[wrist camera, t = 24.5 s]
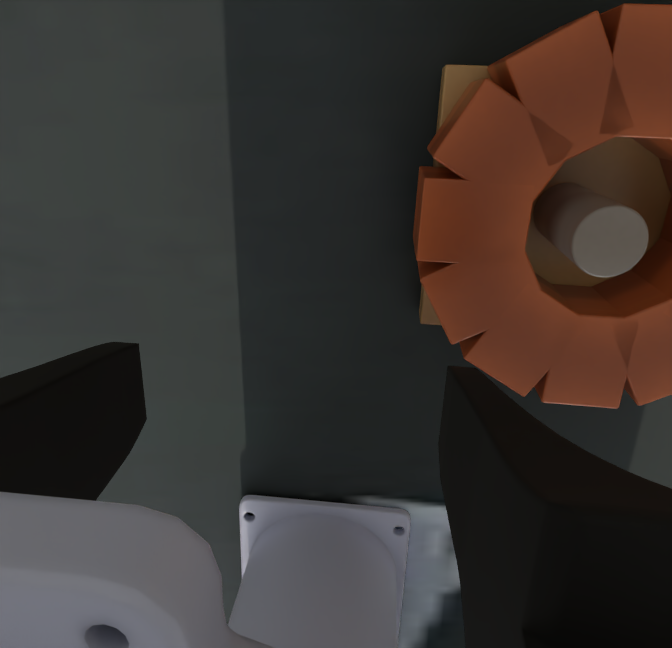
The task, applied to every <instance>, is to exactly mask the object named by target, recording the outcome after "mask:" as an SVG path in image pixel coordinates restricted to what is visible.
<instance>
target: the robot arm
mask: <svg viewBox="0 0 672 648" xmlns="http://www.w3.org/2000/svg"><path fill="white" fill-rule="evenodd" d="M146 420H147V417H146V408H145V398H144V389H143V380H142V370H141V361H140V352H139V344H137V343H123V342H110V343H105V344H101V345H97V346H94V347H91V348H88V349H85V350H82V351H79V352H76V353H73V354H70V355H67V356H64V357H62V358H59V359H56V360H53V361H50V362H47V363H45V364H42V365H39V366H36V367H33V368H30V369H27V370H24V371H21V372H18V373H15V374H12V375H9V376H5V377H2V378H0V648H398V638H399V629H400V619H401V610H402V600H403V591H404V581H405V572H406V563H407V553H408V544H409V534H410V525H411V518H410V514H409V513H408V511H406V510H404V509H400V508H390V507H379V506H368V505H357V504H346V503H335V502H324V501H313V500H302V499H291V498H281V497H270V496H259V495H246V496H244V497H243V498H242V499H241V501H240V505H239V518H240V544H241V570H242V581H241V584H240V588H239V591H238V594H237V597H236V600H235V603H234V607H233V610H232V613H231V616H230V619H229V622H228V625H227V622H226V618H225V613H224V609H223V591H222V575H221V573H220V570H219V568H218V565H217V562H216V560H215V557H214V555H213V552H212V550H211V547H210V544H209V543H208V542H207V541H205V540H204V539H203V538H202V537H201V536H200V535H198V534H197V533H196V532H195V531H194V530H192V529H191V528H190V527H189V526H188V525H187V524H185V523H184V522H183V521H182V520H181V519H180V518H178V517H176V516H173V515H169V514H166V513H163V512H160V511H157V510H153V509H150V508H147V507H144V506H140V505H134V504H124V503H113V502H103V501H96V499H97V498H98V496H99V495H100V494H101V492H102V491H103V490H104V488H105V487H106V485H107V484H108V483H109V481H110V480H111V479H112V477H113V476H114V474H115V473H116V472H117V470H118V469H119V467H120V466H121V465H122V463H123V462H124V460H125V459H126V457H127V456H128V455H129V453H130V451H131V449H132V448H133V446H134V444H135V442H136V440H137V438H138V436H139V434H140V432H141V430H142V428H143V426H144V424H145V422H146ZM438 444H439V463H440V478H441V484H442V490H443V495H444V500H445V505H446V510H447V515H448V520H449V525H450V530H451V535H452V540H453V545H454V549H455V554H456V559H457V565H458V571H459V578H460V585H461V597H462V608H463V619H464V631H465V643H466V648H672V489H671V488H668V487H665V486H663V485H660V484H657V483H655V482H652V481H649V480H647V479H644V478H642V477H640V476H637V475H635V474H633V473H630V472H628V471H626V470H623V469H621V468H619V467H617V466H615V465H613V464H611V463H609V462H607V461H605V460H603V459H601V458H598V457H597V456H595V455H593V454H591V453H589V452H587V451H585V450H583V449H582V448H580V447H578V446H577V445H575V444H573V443H572V442H570V441H568V440H567V439H565V438H563V437H562V436H560V435H559V434H557V433H556V432H554V431H552V430H551V429H550V428H548V427H547V426H545V425H544V424H543V423H541V422H540V421H539V420H537V419H536V418H534V417H533V416H532V415H530V414H529V413H528V412H527V411H525V410H524V409H523V408H522V407H520V406H519V405H518V404H517V403H515V402H514V401H513V400H512V399H511V398H510V397H508V396H507V395H506V394H505V393H504V392H503V391H502V390H500V389H499V388H498V387H497V386H496V385H495V384H494V383H493V382H492V381H490V380H489V379H488V378H487V377H486V376H485V375H484V374H483V373H481V372H480V371H479V370H478V369H476V368H470V367H457V366H448V369H447V377H446V385H445V393H444V402H443V410H442V418H441V427H440V435H439V443H438ZM248 512H250V513H253V514H254V515H253V516H251V515H249V514H247V513H248ZM399 526H400V527H402V529H399V530H398V529H395V527H399Z"/></svg>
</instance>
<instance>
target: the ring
mask: <svg viewBox="0 0 672 648" xmlns="http://www.w3.org/2000/svg"><path fill="white" fill-rule="evenodd" d="M487 69H488V72H489V74H490V77H491V79H492V80H490V79H489V78H484V79H481V80H477V81H473V82H471V83H470V84H469V85H468V87H467V88H466V90H465V91H464V93H463V94H462V96H461V97H460V99H459V100H458V102H457V103H456V105H455V106H454V108H453V109H452V110H451V112H450V113H449V115H448V116H447V118H446V119H445V121H444V122H443V124H442V125H441V127H440V128H439V130H438V131H437V133H436V134H435V136H434V137H433V139H432V140H431V142H430V143H429V145H428V146H427V150H428V151H429V153H430V154H431V155H432V157H433V158H434V159H435V160H436V161H438V162H439V163H441V164H442V165H444V166H445V167H430V166H420V167H419V176H418V186H417V197H416V208H415V218H414V229H413V241H414V248H415V255H416V260H417V263H418V270H419V277H420V282H421V284H422V286H423V288H424V290H425V292H426V294H427V296H428V298H429V300H430V302H431V304H432V306H433V308H434V310H435V313H436V315H437V317H438V319H439V321H440V323H441V325H442V327H443V329H444V331H445V333H446V335H447V337H448V339H449V341H450V343H451V344H456V343H458V342H459V343H460V347H461V350H462V354H463V358H464V359H465V360H467V361H468V362H470V363H471V364H473V365H474V366H476V367H478V368H479V369H481V370H482V371H484V372H485V373H487V374H489V375H490V376H492V377H493V378H495V379H496V380H498V381H499V382H501V383H503V384H504V385H506V386H507V387H509V388H510V389H512V390H514V391H515V392H517V393H518V394H520V395H521V396H523V397H525V396H526V395H527V394H528V393H529V392H530V390H531V389H532V388H533V387H535V389H536V391H537V393H538V395H539V397H540V399H541V401H542V402H544V403H554V404H566V405H578V406H590V407H602V408H614V409H617V408H618V407H619V404H620V401H621V397H622V393H623V389H625V390H626V392H627V393H628V394H629V395H630V397H631V398H632V399H633V400H634V402H635V403H636V404H637V405H638V406H641V405H643V404H646V403H649V402H652V401H655V400H658V399H660V398H663V397H666V396H669V395H672V5H665V4H632V3H624V4H622V5H620V6H617V7H615V8H613V9H610V10H608V11H606V12H603V13H601V14H599V12H598V11H594V12H591V13H589V14H587V15H585V16H583V17H580V18H578V19H576V20H574V21H572V22H569V23H567V24H565V25H563V26H561V27H559V28H557V29H555V30H553V31H551V32H550V33H548V34H546V35H544V36H542V37H540V38H539V39H537V40H535V41H533V42H531V43H529V44H528V45H526V46H524V47H522V48H520V49H518V50H516V51H515V52H513V53H511V54H509V55H507V56H505V57H504V58H502V59H500V60H498V61H496V62H494V63H492V64H491V65H489V66H488V67H487ZM615 137H629V138H632V139H634V140H635V141H636V142H638V143H639V144H641V145H642V146H643V147H645V148H646V149H647V150H649V151H650V152H651V153H653V154H654V155H656V156H657V157H658V158H659V160H660V163H661V166H662V169H663V172H664V175H665V178H666V182H667V185H668V188H669V191H670V194H671V198H670V202H669V205H668V209H667V213H666V217H665V221H664V224H663V228H662V232H661V236H660V238H659V240H658V241H657V242H656V243H655V244H654V245H653V246H652V247H651V248H650V250H649V251H648V252H647V253H646V254H645V255H644V256H643V257H642V258H641V260H640V261H639V262H638V263H637V264H636V265H635V266H634V267H633V268H632V269H631V270H630V271H628V272H625V273H623V274H620V275H618V276H616V277H613V278H611V279H608V280H606V281H604V282H601V283H599V284H596V285H594V286H592V287H588V286H573V285H558V284H551V283H550V282H548V281H547V280H545V279H544V278H542V277H541V276H539V275H538V274H536V273H535V272H534V270H533V268H532V265H531V263H530V260H529V258H528V256H527V253H526V251H525V248H526V242H527V236H528V230H529V224H530V219H531V213H532V207H533V202H534V201H535V199H536V198H537V197H538V195H539V194H540V193H541V192H542V190H543V189H544V188H545V186H546V185H547V184H548V183H549V181H550V180H551V179H552V178H553V176H554V175H555V174H556V172H557V171H558V170H559V169H560V167H561V166H562V165H563V163H564V162H565V161H567V160H569V159H571V158H573V157H575V156H577V155H579V154H581V153H583V152H585V151H587V150H590V149H592V148H594V147H596V146H598V145H600V144H602V143H604V142H606V141H608V140H610V139H612V138H615Z"/></svg>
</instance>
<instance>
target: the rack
mask: <svg viewBox="0 0 672 648" xmlns="http://www.w3.org/2000/svg"><path fill="white" fill-rule="evenodd" d="M487 67H488V66H480V65H445V66H444V67H443V68H442V76H441V87H440V97H439V108H438V118H437V129H436V133H437V131H438V130H439V128H440V127H441V125H442V124H443V122H444V121H445V119H446V118H447V116H448V115H449V113H450V112H451V110H452V109H453V108H454V106H455V105H456V103H457V102H458V100H459V99H460V97H461V96H462V94H463V93H464V91H465V90H466V88H467V87H468V85H469V84H470V83H471V82H473V81H477V80H481V79H484V78H489V79H490V80H492V79H491V77H490V74H489V72H488V69H487ZM433 167H445V166H444V165H442V164H441V163H439V162H438V161H436V160H435V159H434V160H433ZM670 198H671V194H670V191H669V188H668V185H667V182H666V178H665V175H664V172H663V169H662V166H661V163H660V160H659V158H658V157H657V156H656V155H654V154H653V153H651V152H650V151H649V150H647V149H646V148H645V147H643V146H642V145H641V144H639V143H638V142H636V141H635V140H634V139H632V138H629V137H615V138H612V139H610V140H608V141H606V142H604V143H602V144H600V145H598V146H596V147H594V148H592V149H590V150H587V151H585V152H583V153H581V154H579V155H577V156H575V157H573V158H571V159H569V160H567V161H565V162H564V163H563V165H562V166H561V167H560V169H559V170H558V171H557V172H556V174H555V175H554V176H553V178H552V179H551V180H550V181H549V183H548V184H547V185H546V186H545V188H544V189H543V190H542V192H541V193H540V194H539V195H538V197H537V198H536V199H535V201H534V202H533V207H532V213H531V219H530V224H529V230H528V236H527V242H526V248H525V251H526V253H527V256H528V258H529V260H530V263H531V265H532V268H533V270H534V272H535V273H536V274H538V275H539V276H541V277H542V278H544V279H545V280H547V281H548V282H550V283H551V284H558V285H573V286H588V287H592V286H594V285H596V284H599V283H601V282H604V281H606V280H608V279H611V278H613V277H616V276H618V275H620V274H623V273H625V272H628V271H630V270H631V269H632V268H633V267H634V266H635V265H636V264H637V263H638V262H639V261H640V260H641V258H642V257H643V256H644V255H645V254H646V253H647V252H648V251H649V250H650V248H651V247H652V246H653V245H654V244H655V243H656V242H657V241H658V240H659V238H660V236H661V232H662V228H663V224H664V221H665V217H666V213H667V209H668V205H669V202H670ZM419 317H420V323H421V324H430V325H441V323H440V321H439V319H438V317H437V315H436V313H435V310H434V308H433V306H432V304H431V302H430V300H429V298H428V296H427V294H426V292H425V290H424V288H423V286H421V296H420V307H419Z"/></svg>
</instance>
